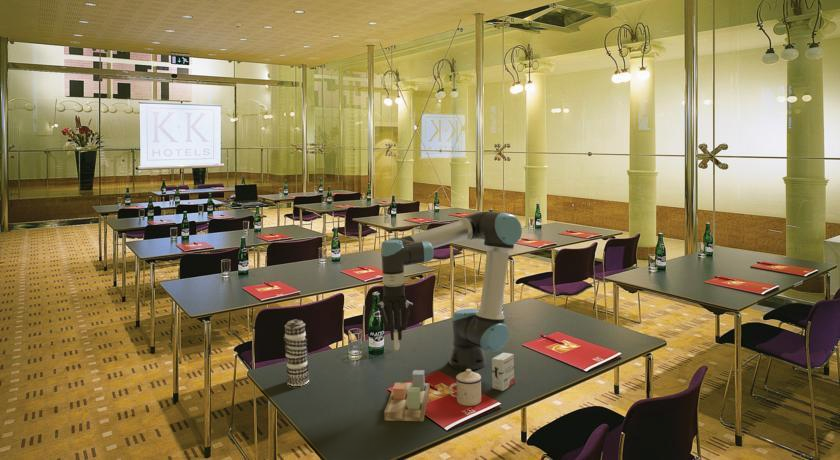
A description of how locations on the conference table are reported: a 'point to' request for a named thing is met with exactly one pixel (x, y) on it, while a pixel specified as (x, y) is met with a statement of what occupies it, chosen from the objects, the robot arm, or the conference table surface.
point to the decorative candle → (296, 353)
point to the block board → (399, 408)
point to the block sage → (413, 398)
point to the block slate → (419, 379)
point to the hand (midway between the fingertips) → (396, 348)
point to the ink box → (502, 371)
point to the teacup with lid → (467, 388)
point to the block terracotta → (399, 392)
